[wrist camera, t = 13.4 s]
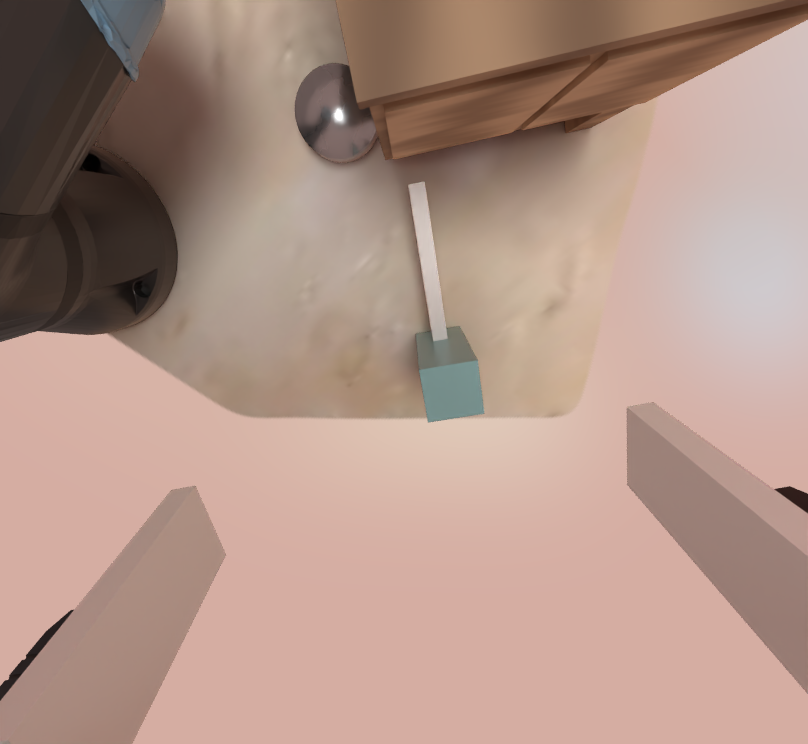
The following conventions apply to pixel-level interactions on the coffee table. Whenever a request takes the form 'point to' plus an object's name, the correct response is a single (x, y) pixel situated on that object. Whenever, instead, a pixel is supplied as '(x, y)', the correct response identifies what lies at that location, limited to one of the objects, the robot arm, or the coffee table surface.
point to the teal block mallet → (441, 335)
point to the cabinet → (534, 60)
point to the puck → (333, 115)
